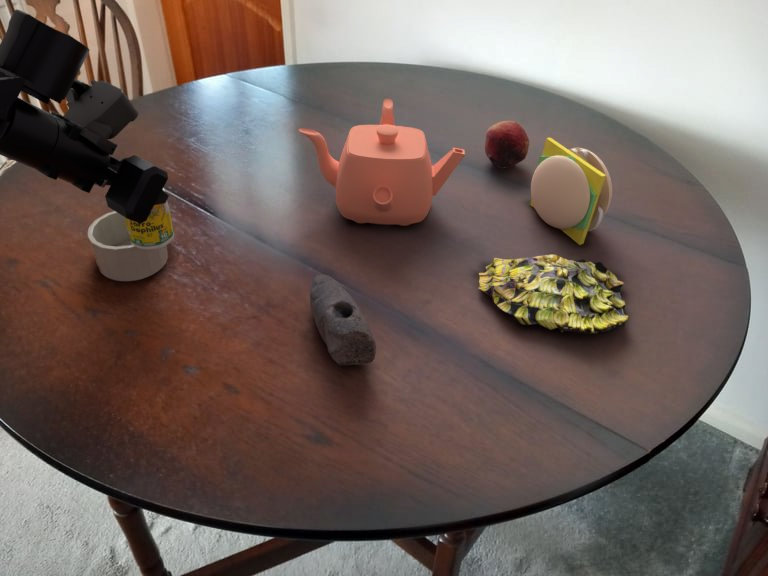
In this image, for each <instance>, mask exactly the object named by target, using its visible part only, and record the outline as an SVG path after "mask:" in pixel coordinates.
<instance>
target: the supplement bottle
mask: <svg viewBox="0 0 768 576" xmlns="http://www.w3.org/2000/svg"><path fill="white" fill-rule="evenodd" d="M162 190H163V191H165V192H166V190H165V188H163V189H162ZM124 219H125V222H126V226H127V230H128V233H129V237H130V240H131V243H132V244H133V245H134V246H135V247H137V248H140V249H143V250H155V249H159V248H162V247H164V246H166V245H169V244H171V242H172V241H173V240H174V237H175V229H174V225H173V221H172V215H171V212H170V207H169V203H168V200H167V201H166V203H164V204H158V205H154V207H153V209H152V211H151V213H150V215H149V216H148V218H147V220H146V221H145V222H143V223H141V224H140V223H137V222H135V221H132V220H129V219H127V218H125V217H124Z"/></svg>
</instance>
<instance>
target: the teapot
mask: <svg viewBox="0 0 768 576" xmlns="http://www.w3.org/2000/svg"><path fill="white" fill-rule="evenodd" d="M298 131H299V132H300V133H301V134H303V135H304V136H305V137H307V138H308V139H309V140H310V141H311V143H312V144H313V147H314V149H315V153H316V158H317V164H318V168H319V171H320V173H321V175H322V177H323V179H324V180H325V181H326V182H327V183H328V184H329V185H331V186H333V187H335V204H336V206H337V210H338V211H339V213H340V214H341V216H342V218H345V219H348V220H352V221H354V222H355V223H357V224H366V223H369V224H375V225H398V226H403V227H406V226H410V225H411V224H416V223H420V222H422V221H423V220H425V218H426V217H427V215H428V214H429V212H430V210H431V208H432V202H433V197H435V196H437V194H438V192H439V191H440V190H441V188H443V186H444V184H445V183H446V182H447V180H448V179H449V178H450V177H451V175H452V174H453V172H454V171H455V170H456V168H457V167H458V165H459V164H460V163H461V161H462V160H463V159H464V157H465V155H466V151H465V149H464V148H459V147H454V146H452V148H451V149H450V150H449V151H448V152H447V153H446V154H445V155H444V156H442V158H440V159H439V160H438V161H437V162H435V164H432V161H431V154H430V151H429V147H428V142H427V139H426V138H427V137H426V135H425V133H424V131H423V130H421V129H419V128H415V127H411V126H402V125H396V124H395V116H394V101H393V100H392V99H391V98H384V100H383V102H382V111H381V117H380V121H379V124H358V125H354V126H352V127H351V128H350V130H349V132H348V134H347V138H346V141H345V143H344V146H343V149H342V152H341V154H340V157H339V161H338V160H337V159H334V158H333V157H332V156H331V154H330V152H329V148H328V144H327V141H326V139H325V138H324V136H323V135H322V134H321V133H320V132H318V131H316V130H313V129H311V128H310V129H309V128H299V129H298Z"/></svg>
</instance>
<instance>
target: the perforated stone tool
mask: <svg viewBox="0 0 768 576" xmlns="http://www.w3.org/2000/svg"><path fill="white" fill-rule="evenodd" d="M309 304H310V310H311V313H312V317H313V320H314V323H315V325H316V328H317V330H318V332H319V335H320V337H321V338H322V340H323V342H324V344H326V346H327V352H328V354H329V355H330V357H331V359H332V360H333V361H335V363H336V364H337V365H339V366H364V365H366V364H371V363H372V362H374V360H375V359H376V354H377V346H376V341H375V338H374V336H373V333H372V331H371V328H370V326H369V323H368V322H367V320H366V317H365V315H364V314H363V313H362V311H361V309H360V308H359V305H357V303H356V301H355V299H354V298H353V297H352V296H351V294H350V293H349V292H348V291H347V290H346V289H345V288H344V286H342V285H341V284H340V283H339V282H338V281H336V280H335V279H334V278H333V277H332V276H330V275H328V274H325V273H319V274H317V275H316V276H315V277H314V278H313V280H312V282H311V284H310V289H309Z"/></svg>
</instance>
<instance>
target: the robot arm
mask: <svg viewBox="0 0 768 576" xmlns="http://www.w3.org/2000/svg"><path fill="white" fill-rule="evenodd" d="M90 51H91V50H90V48H89V47H87V46H86V45H85V44H83V43H82V42H81V41H79V40H78V39H76V38H74V37H73V36H71V35H69V34H67V33H65V32H62V31H60V30H58V29H55V28H54V27H52V26H50V25H48V24H46V23H45V22H42V21H41V20H39V19H37V18H36V17H34V16H33V15H31V14H30V13H28V12H25V11H23V10H21V9H17V8H16V9H14V11H13V13H12V15H11V17H10V18H9V21H8V25H7V29H6V31H5V33H4V36H3V38H2V39H1V42H0V156H2V157H4V158H7V159H9V160H12V161H15V162H18V163H19V164H22V165H24V166H27V167H29V168H31V169H35V170H36V171H37V172H39V173H41V174H42V175H44V176H45V177H47V178H50V179H52V180H54V181H57V180H58V179H59V180H62V181H64V182H67V183H69V184H71V185H72V186H74V187H75V188H77V189H79V190H81V191H82V192H85V193H87V194H90V193H91V191H92V190H93V188H94V185H95V186H98V187H100V188H102V189H103V188H105V187H106V186H109V188H108V189H107V192H106V194H105V196H104V199H105V201H106V205H107V208H109V209H111V210H113V211H116V212H117V213H119V214H120V215H122V216H124V217H125V218H127V219H129V220H132V221H135V222H137V223H140V224H141V223H143V222H145V221H146V220H147V218H148V216H149V215H150V213H151V211H152V209H153V207H154V205H158V204H164V203H166V201H167V202H168V199H169V196H170V195H169V194H168V193H167V192H166V190H165V191H163V190H162V189H163V188H164V187H165V185H166V184H167V182H168V180H169V175H168V171H166V170H164V169H163V168H160V167H159V166H157V165H155V164H153V163H151V162H149V161H148V160H145V159H143V158H142V157H140V156H138V155H136V154H133V155H131V156H129V157H123V158H122V159H121V160H120V159H118V158H117V157H115V156H113V155H114V153H115V151H116V149H117V147H118V144H117V143H115V142H113V141H111V140H112V139H114V138H115V137H117V136H118V135H119V134H120V133H121V132H122V131H123V130H124V129H125V128H126V127H127V126H128V125H129V124H130V123H131V122H134V121H135V120H136V119H137V118H138V116H139V111H138V109H137V108H136V107H135V105H134V104H133V103H132V101H131V100H130V98H129V97H128V96H127V95H126V93H125V92H124V91H123V89H121V88H119V87H118V86H116V85H113V84H111V83H109V82H108V81H105V80H95V79H91V80H90V81H89V82H90V84H88V83H86V82H84V81H81V80H80V79H76V78H77V76H78V74H79V73H80V71H81V68H82V66H83V65H84V63H85V60H86V58H87V57H88V55H89V52H90ZM21 92H23V93H25V94H26V95H28V96H30V97H32V98H34V99H36V100H38V101H40V102H42V103H44V104H46V105H49V104H50V102H51V100H52V101H54V102H55V103H58V104H59V105H61V104H62V101H65V100H66V102H67V103H65V105H66V107H68V110H67V111H66V112H65V113H64V114H61V113H59V112H58V113H57V112H56V111H53V110H51V112H50V111H47V110H45V109H43V108H40V107H38V106H37V105H34V104H32V103H30V102H28V101H26V100H24V99H22V98H20V97H19V96H20V94H21ZM164 189H165V188H164Z"/></svg>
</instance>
